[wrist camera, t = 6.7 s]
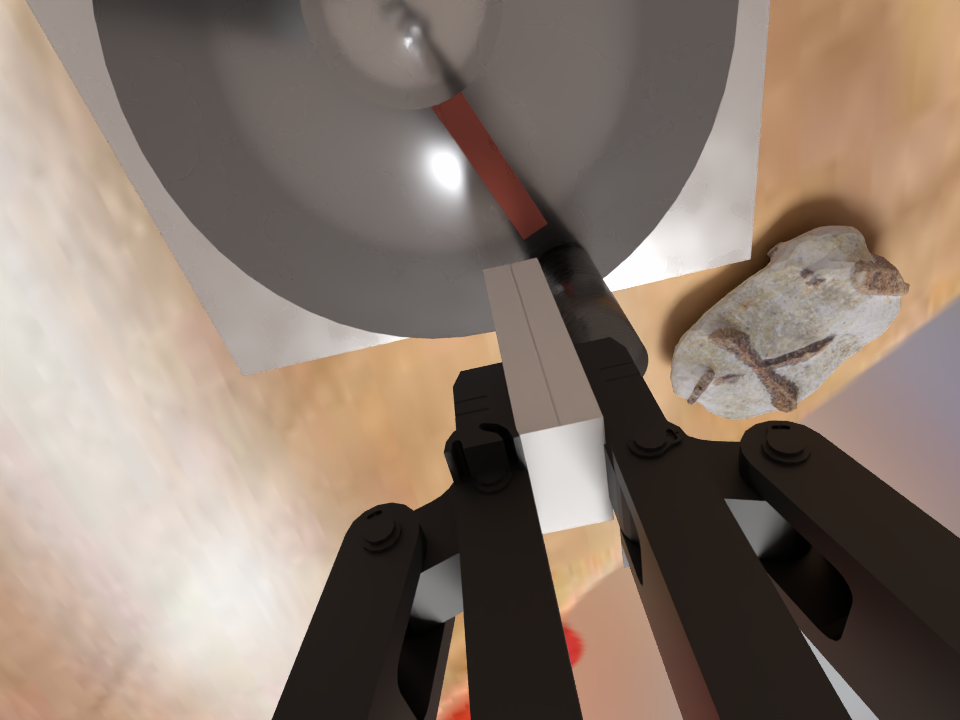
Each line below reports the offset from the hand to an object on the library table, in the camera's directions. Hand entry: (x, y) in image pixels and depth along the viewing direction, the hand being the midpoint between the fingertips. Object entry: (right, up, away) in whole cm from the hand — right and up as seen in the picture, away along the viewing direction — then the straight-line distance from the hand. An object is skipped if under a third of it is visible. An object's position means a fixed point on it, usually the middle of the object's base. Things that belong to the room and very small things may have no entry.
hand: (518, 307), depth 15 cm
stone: (+12, 0, +10) cm, 16 cm away
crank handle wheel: (-3, +7, +1) cm, 8 cm away
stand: (-3, +9, +2) cm, 10 cm away
